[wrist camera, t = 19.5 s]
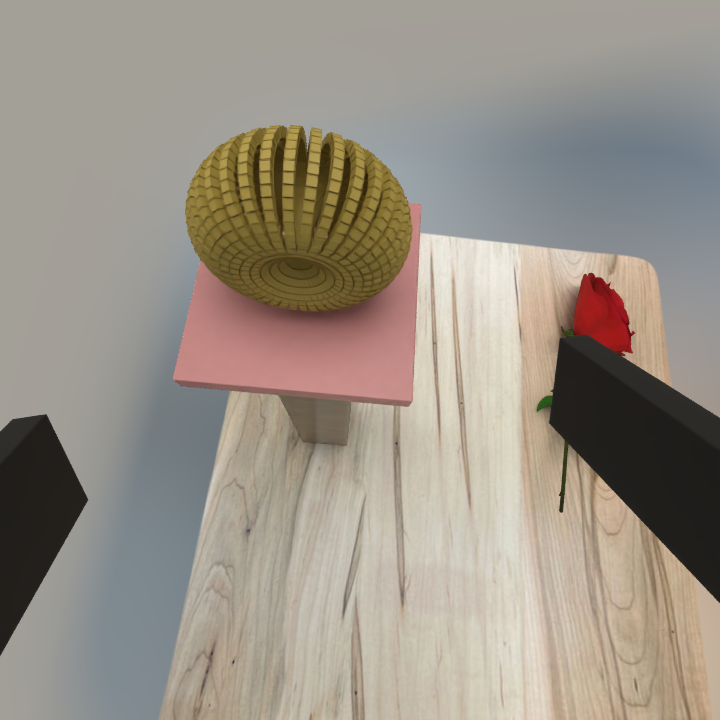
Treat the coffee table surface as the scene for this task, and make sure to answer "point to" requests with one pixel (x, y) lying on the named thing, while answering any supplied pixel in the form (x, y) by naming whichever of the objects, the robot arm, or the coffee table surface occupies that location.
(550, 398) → the flower
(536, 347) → the coffee table surface
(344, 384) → the rose shelf
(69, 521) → the robot arm
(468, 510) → the coffee table surface
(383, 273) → the sculpture
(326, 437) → the stand post
